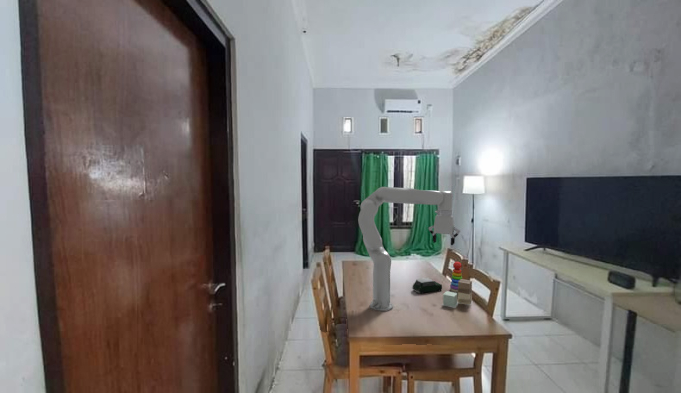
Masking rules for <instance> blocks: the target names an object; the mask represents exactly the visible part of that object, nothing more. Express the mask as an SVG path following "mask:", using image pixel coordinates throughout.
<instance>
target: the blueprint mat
mask: <svg viewBox="0 0 681 393" xmlns="http://www.w3.org/2000/svg"><path fill="white" fill-rule="evenodd" d="M473 302H474V301H473V300H472V302H471V303H470V305H467V304H464V305H465V306H472V304H473ZM441 304H442V305H441V306H444V307H449V308H452V309H456V308H457V307H458V305H459V304H460V305H463V304H462V303H458V301H457V305H456V306H455V307H450V306H446V305H443V303H441Z"/></svg>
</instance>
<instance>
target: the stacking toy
mask: <svg viewBox="0 0 681 393" xmlns="http://www.w3.org/2000/svg"><path fill="white" fill-rule="evenodd" d="M452 267H453V269H452V272H451V275H452V276H451V282H450V285H449V290H450V292H453V293H458V282H459V280H460V279H463V276H462V269H461V268H462V263H461V262H460V261H454V262H453V264H452Z"/></svg>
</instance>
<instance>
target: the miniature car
mask: <svg viewBox="0 0 681 393" xmlns="http://www.w3.org/2000/svg"><path fill="white" fill-rule="evenodd" d="M411 289H412V290H413V291H415V292H417V293H419V294H421V295H423V294H426V293H430V292H442V290H443V285H442V283H440V282H437V281H435V280H433V279H431V278H427V277H422V278H418V279H416V280H415V282H414V283H413V284H412V288H411Z"/></svg>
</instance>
